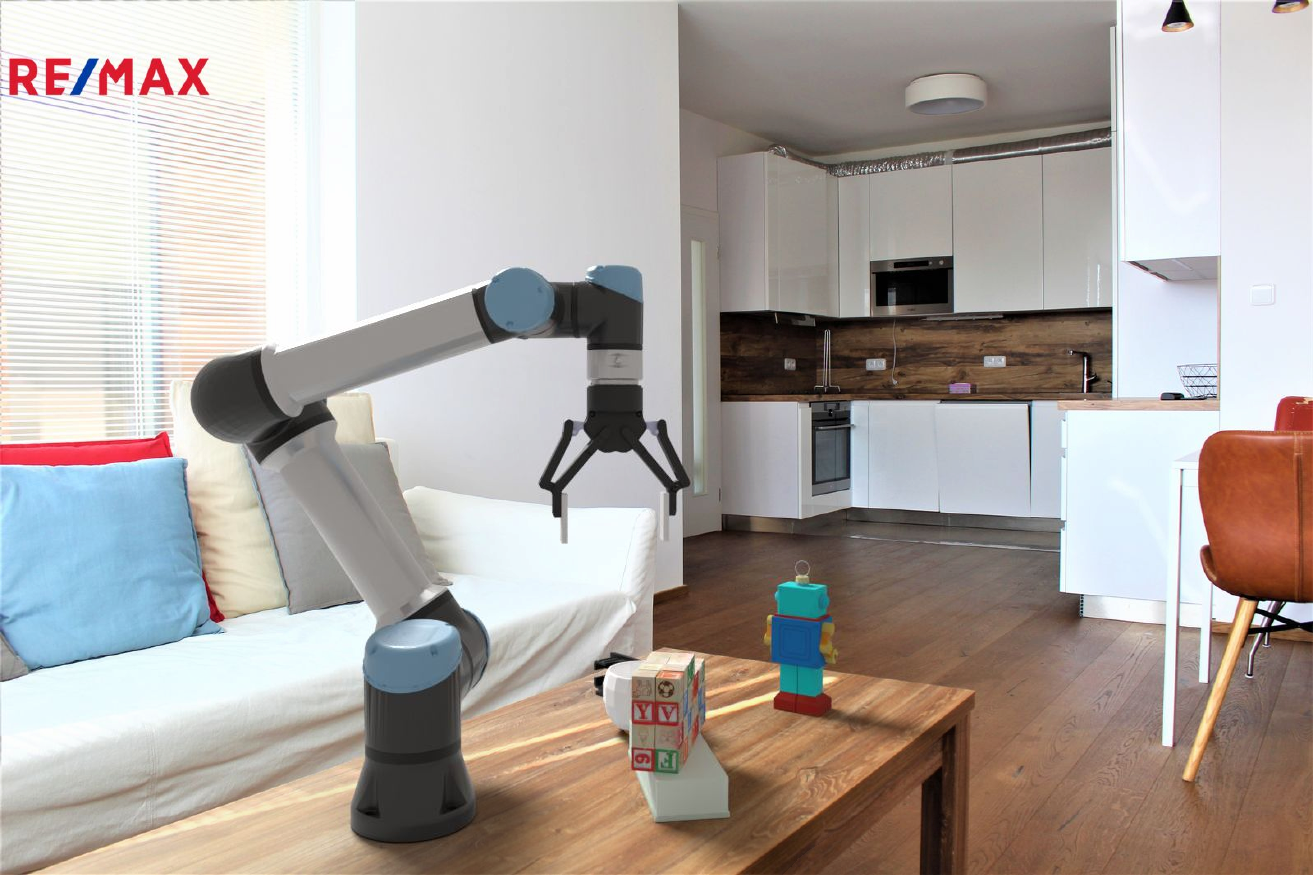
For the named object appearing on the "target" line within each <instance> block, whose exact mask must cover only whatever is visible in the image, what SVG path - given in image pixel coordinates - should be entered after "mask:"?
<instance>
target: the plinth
mask: <svg viewBox="0 0 1313 875" xmlns="http://www.w3.org/2000/svg"><path fill="white" fill-rule="evenodd" d="M628 735H629V744H628V745H629V747H628V748H629V749H627V756H628V757H629V761H631V747H632V722H631V720H630V731H629V734H628ZM719 762H720V761H719V760H718V758H717V757H716V756H715V754H714V753H713V751H712V750H711V747H710V746H709V745H708V743H707V742H706V739H705V738H704V736H703V735H702V734H701V732H700V733H699V734H698V735H697V737H696V739H695V742H694V744H693V746H692V750H691V752H690V754H689V756H688V757H687V759H686V761H685V763H684V765H683V766H682V768H681V770H680V772H679V773H678V774H674V773H662V772H647V771H635V770H634V773H635V775H636V778H637V781H638V783H639V785H640V788H641V791H642V793H643V795H644V797H645V800H646V802H647V805H648V807H649V811H650V813H651V815H652V817H653V821H654V822H655V823H664V822H665V823H666V822H667V823H668V822H679V821H681V822H682V821H694V820H695V821H696V820H711V819H722V818H723V819H725V818H727V819H728V818H730V817H731V812H730V810H729V776H728V774H727V773H726V771H725V770H724V768H723V766H722V765H721V763H719Z"/></svg>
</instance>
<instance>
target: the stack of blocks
mask: <svg viewBox="0 0 1313 875" xmlns="http://www.w3.org/2000/svg"><path fill="white" fill-rule="evenodd" d="M695 656H696V655H695V653H687V652H685V653H683V652H664V651H663V652H662V651H651V652H650V653H649V655H647V658H646V659H645V660H643V661H644V663H643V664H642V665H641V666H640V667H639V669H638V670H636V672H635V673H634V674H633V675H632V705H631V717H632V719H631V722H632V747H631V760H630V763H631V764H630V765H631V766H630V767H631V771H634V772H635V771H647V772H662V773H674V774H678V773H679V772H680V770H681V768H682V766H683V765H684V763H685V761H686V759H687V757H688V756H689V754H690V752H691V750H692V746H693V744H694V742H695V739H696V737H697V735H698V734H699V733H700V734H701V730H702V729H703V727H704V724H705V722H706V699H707V698H706V693H707V692H706V691H707V689H706V686H707V685H706V684H707V683H706V682H707V681H706V675H705V673H706V671H705V666H706V663H705V662H706V659H705V658H698V657H695Z"/></svg>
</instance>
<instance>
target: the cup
mask: <svg viewBox="0 0 1313 875" xmlns="http://www.w3.org/2000/svg"><path fill="white" fill-rule="evenodd" d="M644 661H645V660H643V661H628V662H622V663H617V664H615V665H612V666H610V667H609V668H608V670H607V669H606V672H605V674H606V675H605V674H604V675H605V679H604V682H603V697H602V699H603V704H604V706H605V710H606V713H607V716H608V718H609V719H610V721H611V722H612V723H613V726H615V727H617V728H618V729H621V730H624V733H625V734H627V735H629V731H630V720H631V719H632V717H631V705H632V675H633V674H634V673H635V672H636V670H638V669H639V667H640V666H641V665H642V664H643V663H644Z"/></svg>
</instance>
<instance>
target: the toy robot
mask: <svg viewBox="0 0 1313 875" xmlns="http://www.w3.org/2000/svg"><path fill="white" fill-rule="evenodd" d="M800 562H801V560H799V561H798V562H796V564H795V567H794V568H795V569H794V570H795V572H796V574H797V575H796V576H795V581H787V582H784V583H781V584H779V585H777V591H776V592H775V593H774V599H775V601H776V602H777V612H776V613H774V614H769V615H768V616H767V618H766V626H767V628H766V632H765V634H764V636H763V641H764V644H765V645H767V646H768V647H769V652H770V661H771V662H772V663H777V664H779V691H778V692H777V694H776V695H775V696H774V697H773V709H775V710H780V711H781V710H782V711H787V712H792V713H798V714H802V715H806V716H807V715H808V716H813V717H820V716H821V715H823V714H825V713H826V712H827V711H829V710H831V709H832V708H833V707H832V704H833V703H832V701H833V700H832V699H833V698H832V696H830V695H828V694H827V693H824V667H825V666H826V665H828V664H833V665H834V664H835V665H836V663H837V660H836V658H835V657H837V656H838V655H839V652H838V651H839V650H838V649H837V648H834V647H833V635H834V634H835V629H836V628H835V622H834V623H833V616H831V614H830V613H827V608H828V607H829V606H830V602H831V601H830V598H829V596H828V595H827V594H828V592H827V591H828V590H827V588H828V587H827V585H825V584H815V583H810V576H808V574H809V573H810V570H811V569H810V564H809V563H808V562H807V561H806V560H803V562H804V563H805V564H807V566H808V572H807V573H806V574H800V573H799V572H798V571H797V565H798V564H799V563H800Z"/></svg>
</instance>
